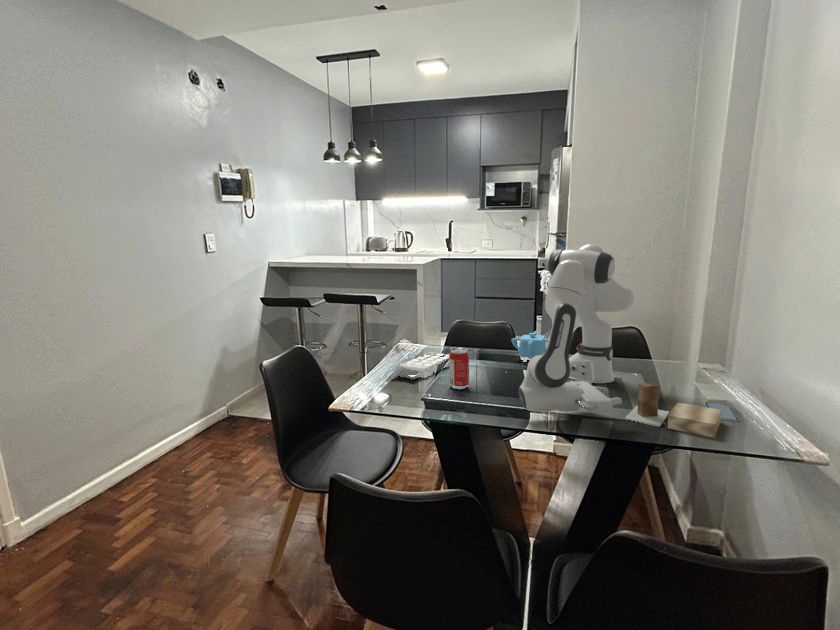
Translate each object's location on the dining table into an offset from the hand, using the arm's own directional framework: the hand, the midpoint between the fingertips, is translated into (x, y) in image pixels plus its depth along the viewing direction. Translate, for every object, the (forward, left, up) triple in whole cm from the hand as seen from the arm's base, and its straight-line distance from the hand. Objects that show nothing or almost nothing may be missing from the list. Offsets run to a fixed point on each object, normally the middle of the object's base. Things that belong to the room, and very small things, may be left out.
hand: (614, 395), depth 144 cm
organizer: (-85, +8, -8) cm, 85 cm away
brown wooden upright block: (+8, +7, -7) cm, 13 cm away
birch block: (+22, +8, -7) cm, 24 cm away
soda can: (-58, -3, -8) cm, 58 cm away
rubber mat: (+9, +7, -7) cm, 13 cm away
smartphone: (+27, +25, -8) cm, 37 cm away
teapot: (-53, +55, -8) cm, 77 cm away
